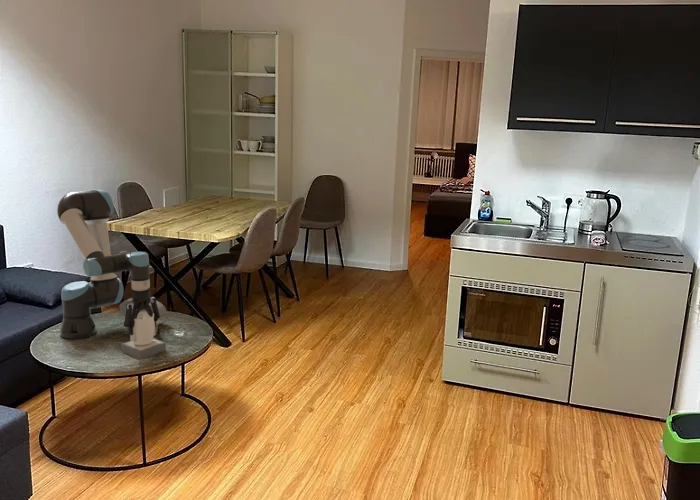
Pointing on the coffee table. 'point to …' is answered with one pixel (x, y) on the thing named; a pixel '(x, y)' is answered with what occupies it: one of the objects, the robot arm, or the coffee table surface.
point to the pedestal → (143, 348)
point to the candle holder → (144, 328)
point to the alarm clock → (160, 308)
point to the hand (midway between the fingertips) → (143, 337)
